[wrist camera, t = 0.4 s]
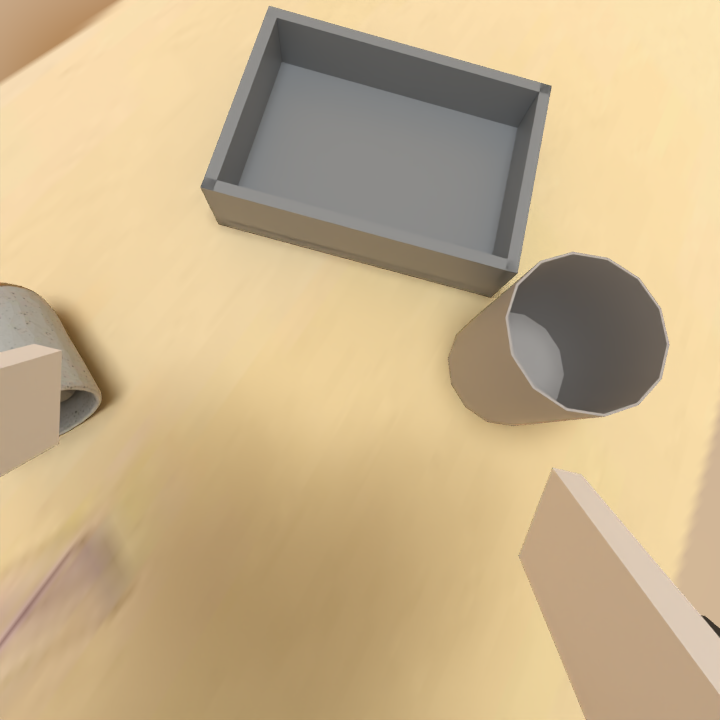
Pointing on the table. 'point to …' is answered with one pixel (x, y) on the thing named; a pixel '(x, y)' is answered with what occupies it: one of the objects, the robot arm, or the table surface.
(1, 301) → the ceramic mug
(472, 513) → the table surface
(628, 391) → the cup
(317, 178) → the slate bin
